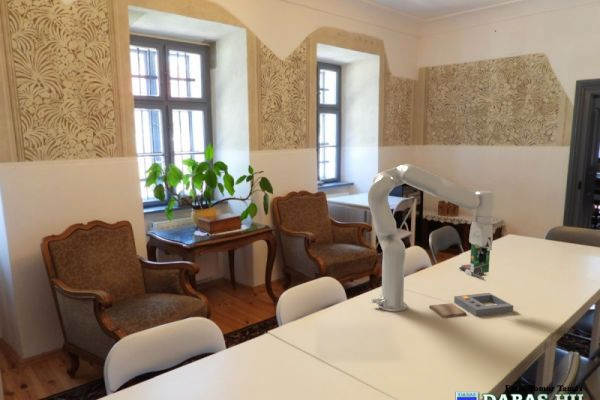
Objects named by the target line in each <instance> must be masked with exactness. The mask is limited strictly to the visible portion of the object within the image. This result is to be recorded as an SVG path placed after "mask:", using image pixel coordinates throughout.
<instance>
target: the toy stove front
mask: <svg viewBox="0 0 600 400" xmlns="http://www.w3.org/2000/svg"><path fill="white" fill-rule="evenodd" d="M487 302H492V303H493V304H492V305H486V304H484V303H487ZM453 304H454V305H457V306H459V308H462V309H463V310H465V312H466V311H467V312H468V313H470V314H471V315H473V316H474V317H485V316H494V315H503V314H511V313H514V305H513V304H511V303H509V302H507V301H506V300H504V299H502V298H500V297H498V296H496V295H494V294H492V293H490V292H483V293H473V294H465V295H464V294H463V295H457V296H456V295H454V299H453Z"/></svg>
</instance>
